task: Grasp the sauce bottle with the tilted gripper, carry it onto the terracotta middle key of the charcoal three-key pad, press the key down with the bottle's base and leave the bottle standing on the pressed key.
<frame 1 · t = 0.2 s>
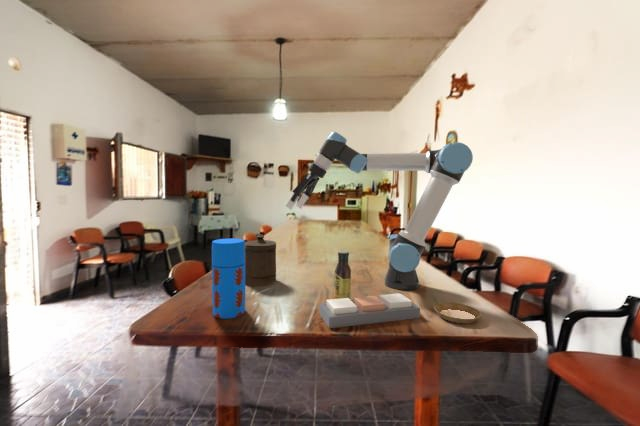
hand: (293, 207, 134), 35 cm above the table, tool tilted 35°, fingers open, 13 cm apart
sauce bottle: (342, 303, 116), on the table
key pad: (368, 315, 104), on the table
key mid: (368, 304, 104), point 4 cm above the table, slide at 0.0 cm
tan shallow bowl: (456, 318, 105), on the table
thermos: (229, 312, 106), on the table
key 1: (341, 306, 101), point 4 cm above the table, slide at 0.0 cm
key 2: (395, 301, 107), point 4 cm above the table, slide at 0.0 cm
wooden container: (259, 281, 142), on the table
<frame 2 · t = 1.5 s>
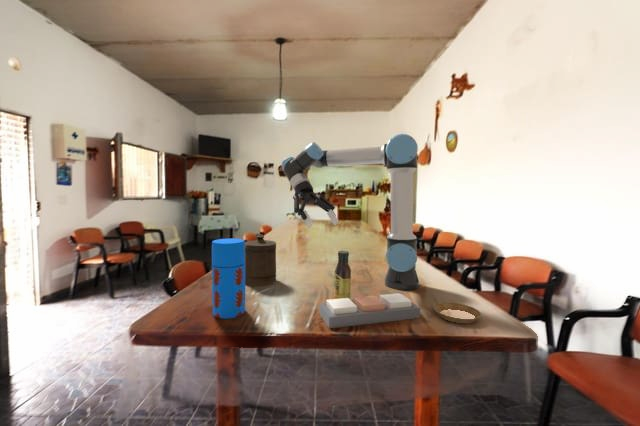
hand: (324, 224, 122), 29 cm above the table, tool tilted 45°, fingers open, 13 cm apart
nothing on the table moved.
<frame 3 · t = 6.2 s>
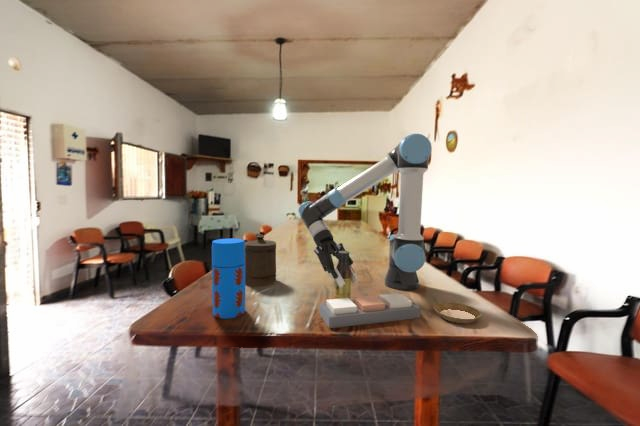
hand: (349, 283, 112), 8 cm above the table, tool tilted 45°, fingers closed on sauce bottle, 6 cm apart
sauce bottle: (342, 303, 116), on the table, touching gripper
everything else where it was.
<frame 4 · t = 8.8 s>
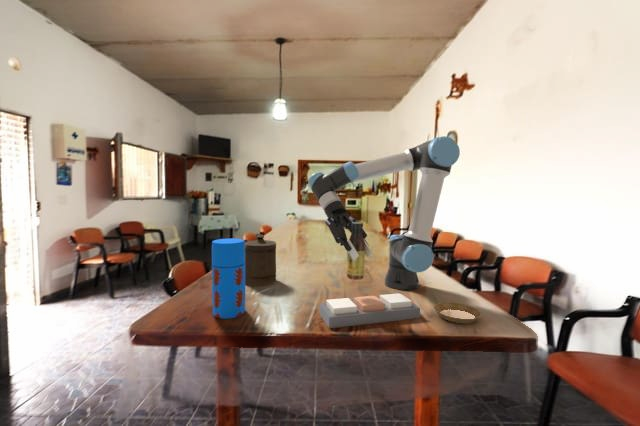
hand: (363, 256, 104), 20 cm above the table, tool tilted 45°, fingers closed on sauce bottle, 6 cm apart
sauce bottle: (355, 278, 108), point 12 cm above the table, touching gripper
everything else where it was.
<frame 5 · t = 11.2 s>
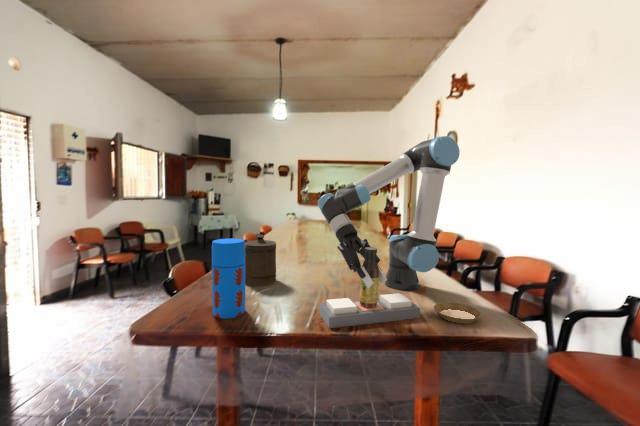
hand: (377, 283, 101), 12 cm above the table, tool tilted 45°, fingers closed on sauce bottle, 6 cm apart
sauce bottle: (368, 305, 104), point 3 cm above the table, touching gripper, key mid
key mid: (368, 308, 104), point 2 cm above the table, slide at 1.7 cm, touching sauce bottle
everything else where it was.
when the fingers open (12 cm above the table, at t = 11.4 s): sauce bottle stays where it is, resting on key mid.
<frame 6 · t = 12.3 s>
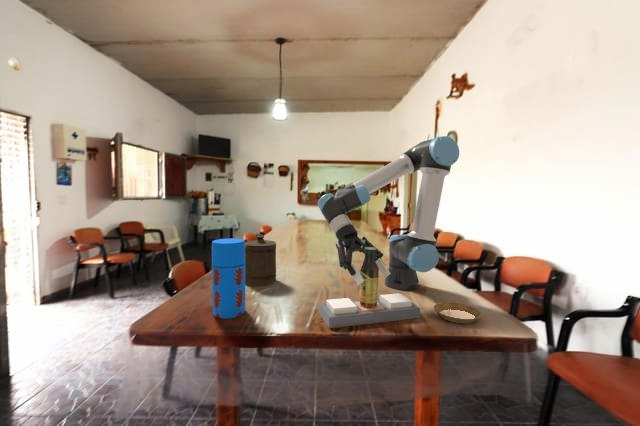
hand: (375, 279, 102), 13 cm above the table, tool tilted 45°, fingers open, 13 cm apart
sauce bottle: (368, 305, 104), point 3 cm above the table, touching key mid
everything else where it was.
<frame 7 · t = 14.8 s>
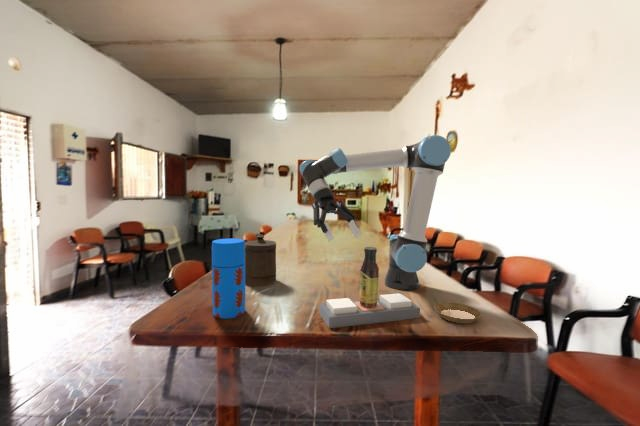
hand: (345, 237, 112), 25 cm above the table, tool tilted 40°, fingers open, 13 cm apart
nothing on the table moved.
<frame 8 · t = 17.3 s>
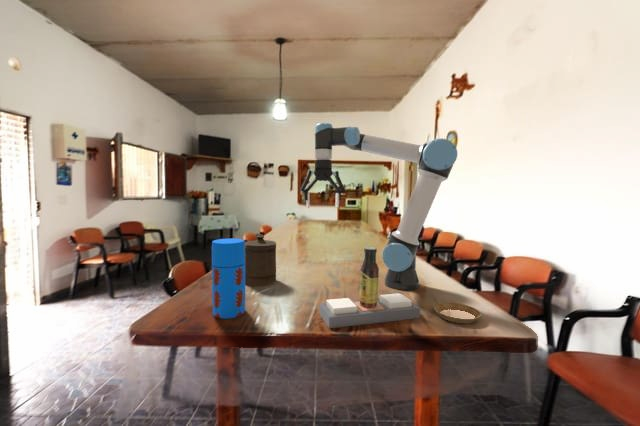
hand: (322, 207, 137), 35 cm above the table, tool pointing down, fingers open, 13 cm apart
nothing on the table moved.
at the end: key mid slide at 1.7 cm; sauce bottle inside the target area (0.1 cm from its centre), point 3.5 cm above the table; sauce bottle tilted 0° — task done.
